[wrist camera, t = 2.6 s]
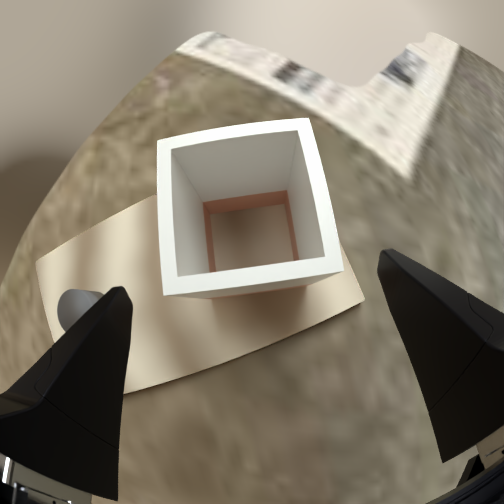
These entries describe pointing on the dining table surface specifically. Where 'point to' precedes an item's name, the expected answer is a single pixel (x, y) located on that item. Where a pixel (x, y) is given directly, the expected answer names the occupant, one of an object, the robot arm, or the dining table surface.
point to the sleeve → (243, 206)
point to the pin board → (181, 308)
